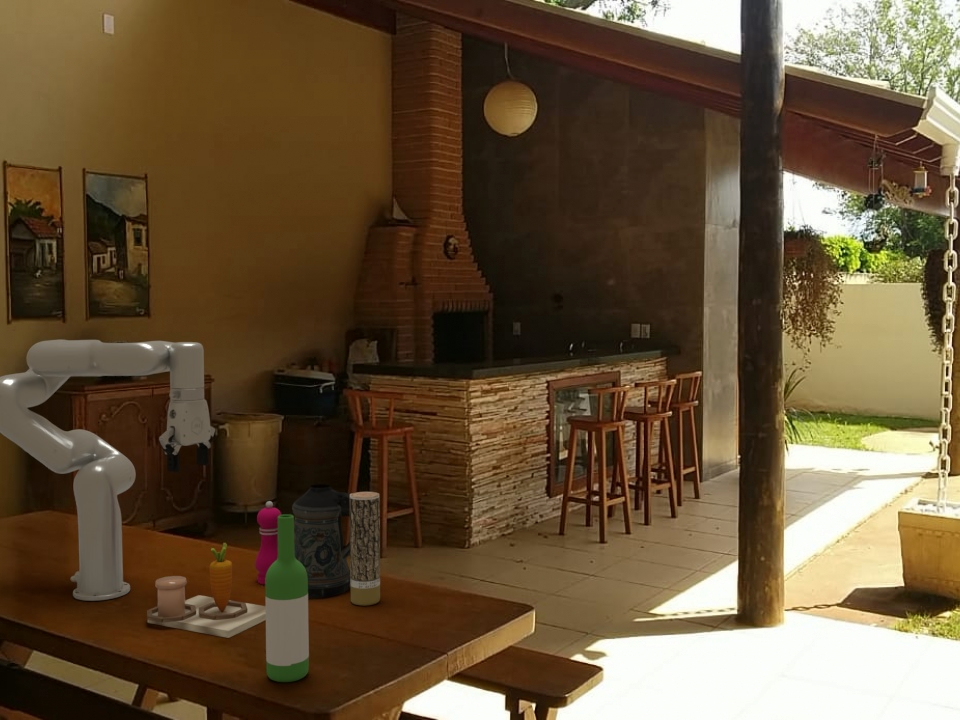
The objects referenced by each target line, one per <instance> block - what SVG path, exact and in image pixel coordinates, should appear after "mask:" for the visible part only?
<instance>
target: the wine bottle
mask: <svg viewBox="0 0 960 720" xmlns="http://www.w3.org/2000/svg"><path fill="white" fill-rule="evenodd" d="M294 519H295V515H294V514H291V513H289V514H288V513H287V514H286V513H285V514H281V515H279V516H278V558H277V560H276V561H275V562H274V563H273V564H272V565H271V566H270V567H269V569H268V571H267V574H266V579H265V585H264V586H265V589H264V591H265V606H266V620H265V651H266V652H265V653H266V654H265V657H266V658H265V660H266V666H265V667H266V675H267V677H268V678H269V679H270V680H272V681H274V682H277V683H291V682H296V681H299V680H301V679H303V678H304V677H306V676H307V674H308V673H309V668H310V663H309V661H310V651H309V650H310V644H309V642H310V641H309V637H310V636H309V630H310V629H309V598H308V577H307V572H306V569H305V567H304V566H303V565H302V563H300V562H299V561H298V560H297V559H296V558H295V552H294Z"/></svg>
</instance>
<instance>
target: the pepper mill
mask: <svg viewBox="0 0 960 720" xmlns="http://www.w3.org/2000/svg"><path fill="white" fill-rule="evenodd" d="M273 506H274V504H273V502H272V501H270V500H269V501H266V502H265V507H264V508H261V509H260V510H259V511H258V513H257V517H256V521H257V524H258V525H259V526H260V527H258V530H259V534H260V535H261V539H260V540H261V543H260V548H259V551H258V552H257V555H256V558H255V563H254V567H255V569H256V570H257V571H258V574H257V583H258V584H261V585H264V586H265V579H266V574H267V571H268V569H269V567H270V566H271V565H272V564H273V563H274V562H275V561H276V560H277V558H278V516H279V515H282V512H281V510H279V509H278V508H277V507H273Z"/></svg>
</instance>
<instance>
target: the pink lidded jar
mask: <svg viewBox="0 0 960 720" xmlns="http://www.w3.org/2000/svg"><path fill="white" fill-rule="evenodd" d="M154 582H155V584H154V585H155V588H156V589H157V606H158V616H160V617H172V616H181V615H183V614H185V600H186V589H185V588H186V586H187V583H188V582H187V578H186V577H185V576H181V575H170V576H169V575H168V576H164V577H160V578H157V579H156V580H155V581H154Z"/></svg>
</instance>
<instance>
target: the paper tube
mask: <svg viewBox="0 0 960 720" xmlns="http://www.w3.org/2000/svg"><path fill="white" fill-rule="evenodd" d="M349 495H350V516H349V542H350V555H349V562H350V563H349V569H350V602H351V603H352V604H353V605H355V606H361V607H362V606H363V607H365V606H366V607H367V606H372V605H373V606H374V605H376V604H378V603H379V602H380V600H381V528H380V527H381V525H380V524H381V522H380V521H381V520H380V519H381V518H380V517H381V515H380V514H381V511H380V510H381V508H380V507H381V506H380V499H381V498H380V493H379V492H374V491H359V492H358V491H357V492H353V493H350V494H349Z"/></svg>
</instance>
